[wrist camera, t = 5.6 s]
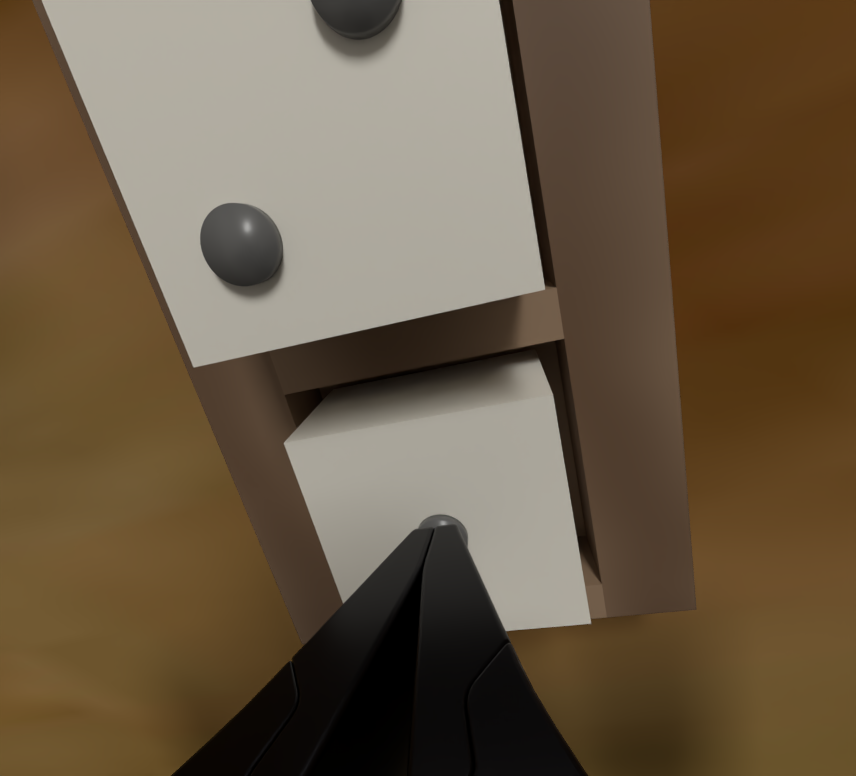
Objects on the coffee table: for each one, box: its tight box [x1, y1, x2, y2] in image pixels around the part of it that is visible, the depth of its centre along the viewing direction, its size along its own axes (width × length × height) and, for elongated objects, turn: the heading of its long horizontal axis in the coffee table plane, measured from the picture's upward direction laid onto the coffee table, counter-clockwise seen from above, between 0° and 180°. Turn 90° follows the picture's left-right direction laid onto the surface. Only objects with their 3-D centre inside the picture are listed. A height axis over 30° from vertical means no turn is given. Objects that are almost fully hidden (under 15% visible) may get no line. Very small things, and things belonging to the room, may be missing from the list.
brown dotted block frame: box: [32, 0, 696, 644], centre depth 9 cm, size 10×22×2 cm, turn 14°
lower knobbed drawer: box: [284, 349, 591, 631], centre depth 10 cm, size 5×5×3 cm
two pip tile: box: [42, 0, 545, 367], centre depth 7 cm, size 5×5×3 cm
